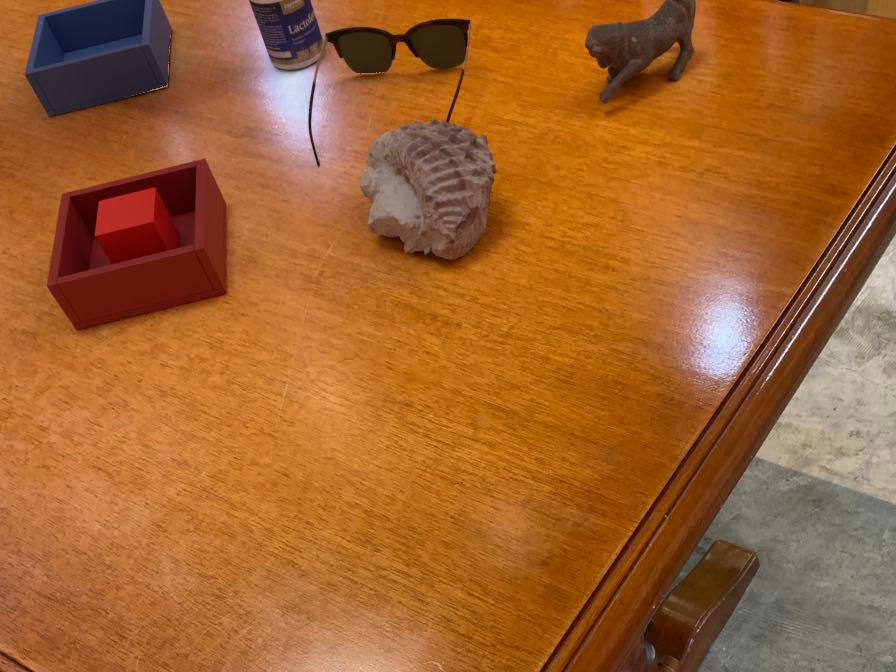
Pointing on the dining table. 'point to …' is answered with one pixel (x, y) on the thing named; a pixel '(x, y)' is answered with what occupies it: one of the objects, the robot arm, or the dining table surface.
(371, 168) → the seashell
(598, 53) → the dog figurine
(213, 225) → the maroon bin
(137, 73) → the blue bin
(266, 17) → the pill bottle
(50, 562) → the dining table surface
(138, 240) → the red block
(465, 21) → the sunglasses
